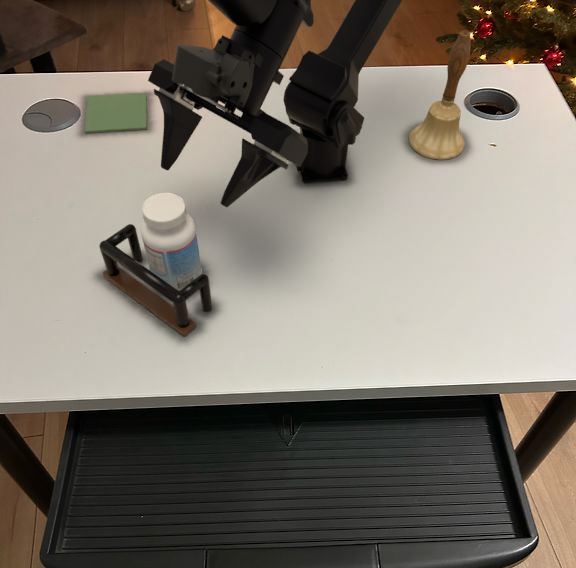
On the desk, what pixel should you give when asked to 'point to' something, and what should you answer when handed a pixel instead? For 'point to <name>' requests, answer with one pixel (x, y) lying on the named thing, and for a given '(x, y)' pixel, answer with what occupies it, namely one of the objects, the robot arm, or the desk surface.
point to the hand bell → (444, 111)
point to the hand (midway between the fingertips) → (193, 187)
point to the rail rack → (151, 282)
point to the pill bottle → (170, 240)
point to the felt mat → (116, 113)
